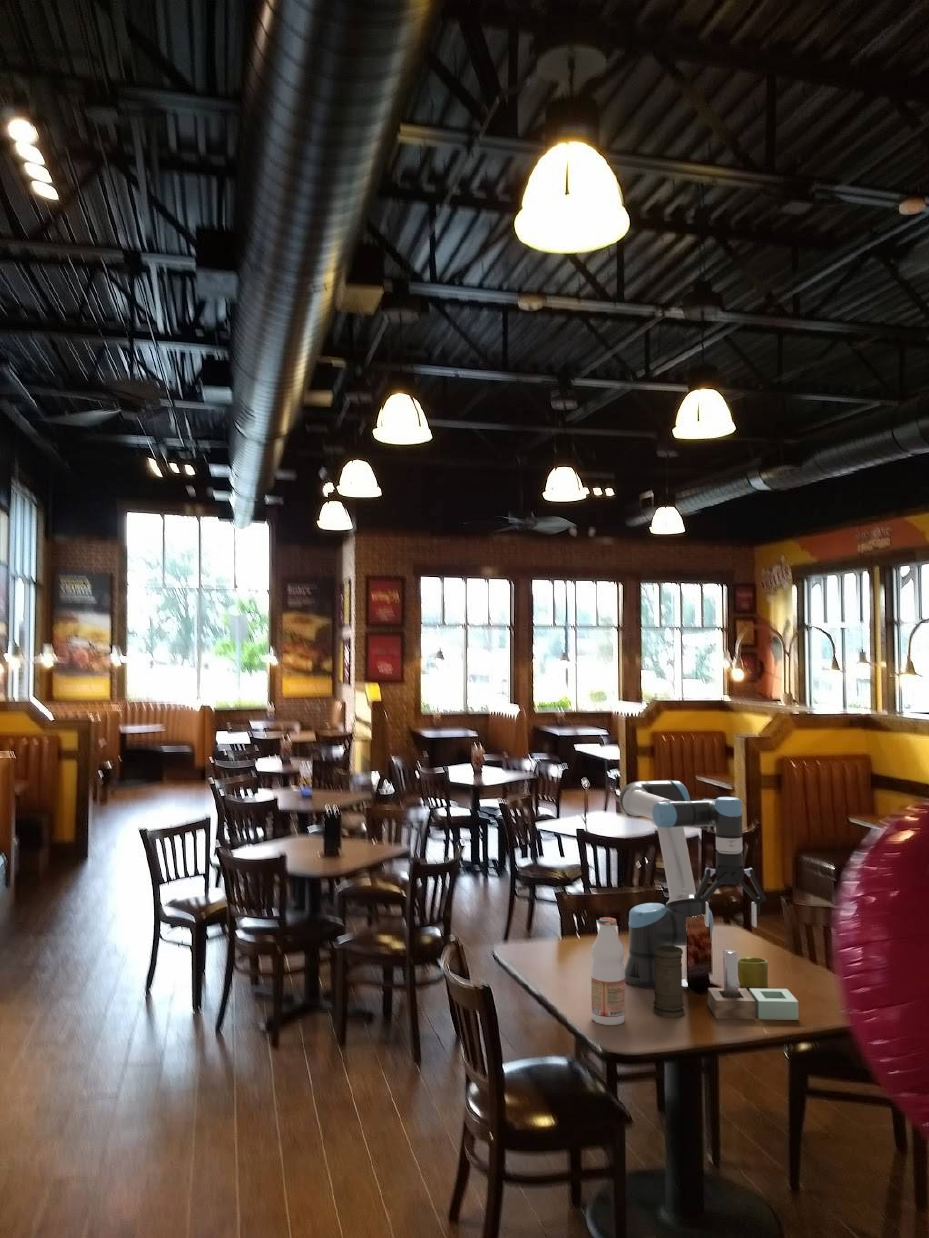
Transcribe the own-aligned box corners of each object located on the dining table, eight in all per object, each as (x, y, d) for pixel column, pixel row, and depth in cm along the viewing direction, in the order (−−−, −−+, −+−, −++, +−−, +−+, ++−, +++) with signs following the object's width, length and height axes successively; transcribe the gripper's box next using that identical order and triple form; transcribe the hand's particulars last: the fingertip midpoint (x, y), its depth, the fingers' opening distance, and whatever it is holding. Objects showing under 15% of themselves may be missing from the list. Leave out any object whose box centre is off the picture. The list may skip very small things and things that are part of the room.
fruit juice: (586, 1022, 273) (585, 920, 275) (598, 1011, 282) (597, 913, 283) (618, 1028, 269) (617, 925, 270) (629, 1017, 277) (629, 917, 278)
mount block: (716, 1018, 276) (715, 1000, 276) (708, 1004, 287) (707, 987, 287) (755, 1019, 276) (755, 1001, 276) (746, 1005, 287) (745, 988, 287)
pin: (725, 1014, 280) (725, 953, 280) (722, 1009, 284) (722, 949, 284) (740, 1014, 279) (739, 954, 280) (736, 1009, 283) (735, 950, 284)
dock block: (759, 1019, 276) (758, 1001, 276) (749, 1005, 287) (749, 988, 287) (798, 1019, 275) (798, 1001, 275) (787, 1006, 286) (787, 988, 286)
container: (678, 1019, 275) (677, 955, 276) (648, 1014, 280) (647, 950, 281) (689, 1010, 283) (688, 947, 284) (659, 1004, 288) (658, 942, 288)
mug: (776, 987, 297) (764, 953, 300) (743, 995, 299) (731, 962, 302) (774, 982, 309) (763, 950, 312) (742, 990, 311) (731, 958, 314)
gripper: (688, 853, 280) (689, 928, 279) (776, 854, 279) (777, 929, 278) (683, 848, 288) (684, 921, 287) (769, 849, 287) (770, 922, 286)
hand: (730, 925), depth 283 cm, fingers open, 13 cm apart
